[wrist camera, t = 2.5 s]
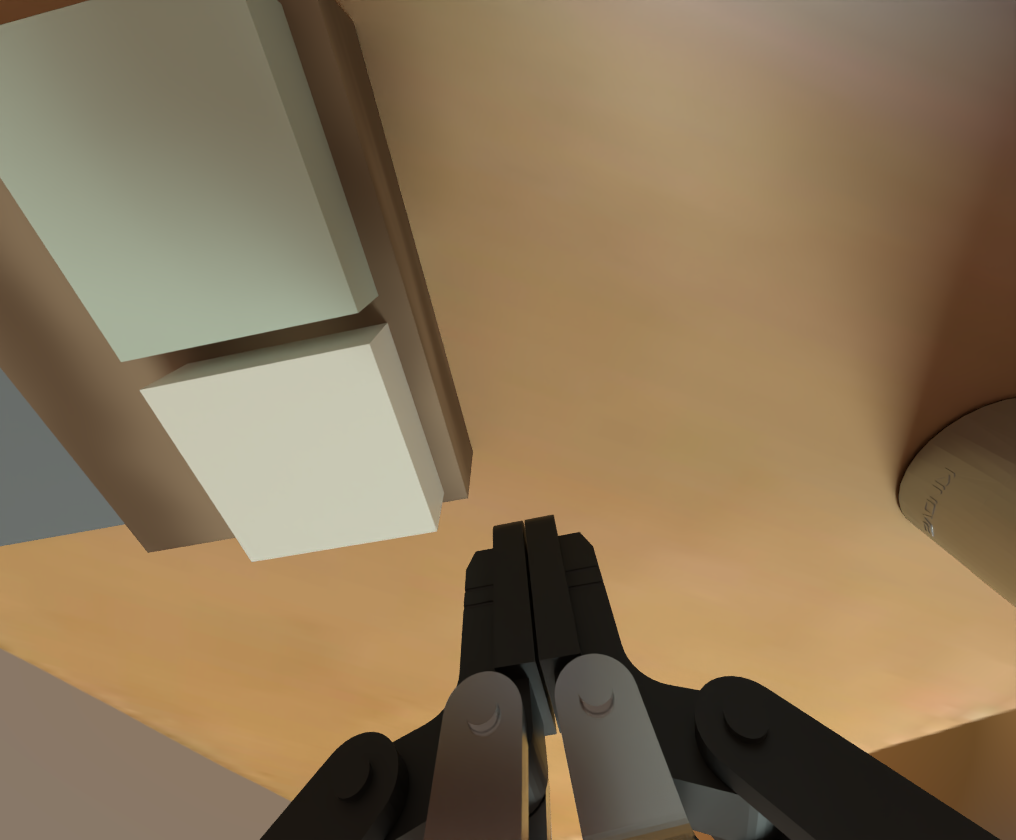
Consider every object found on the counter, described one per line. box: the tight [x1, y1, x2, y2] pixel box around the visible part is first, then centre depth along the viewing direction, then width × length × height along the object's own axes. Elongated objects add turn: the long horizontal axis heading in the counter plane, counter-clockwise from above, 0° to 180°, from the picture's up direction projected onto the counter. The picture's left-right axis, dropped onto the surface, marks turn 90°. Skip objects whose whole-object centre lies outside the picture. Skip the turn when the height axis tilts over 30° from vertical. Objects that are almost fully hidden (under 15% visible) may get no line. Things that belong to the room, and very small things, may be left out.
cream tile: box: [140, 323, 444, 562], centre depth 17 cm, size 8×8×2 cm
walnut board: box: [0, 0, 473, 553], centre depth 18 cm, size 16×18×4 cm
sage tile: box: [0, 0, 378, 362], centre depth 13 cm, size 8×8×2 cm
